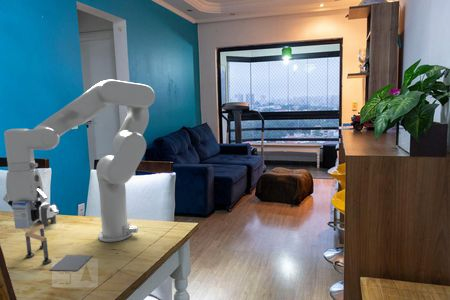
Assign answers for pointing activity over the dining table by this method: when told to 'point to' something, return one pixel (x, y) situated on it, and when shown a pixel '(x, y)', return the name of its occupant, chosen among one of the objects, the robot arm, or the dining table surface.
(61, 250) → the dining table surface
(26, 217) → the medicine box
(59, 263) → the mat
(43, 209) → the giant panda
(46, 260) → the wooden l-shaped stand
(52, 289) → the dining table surface
